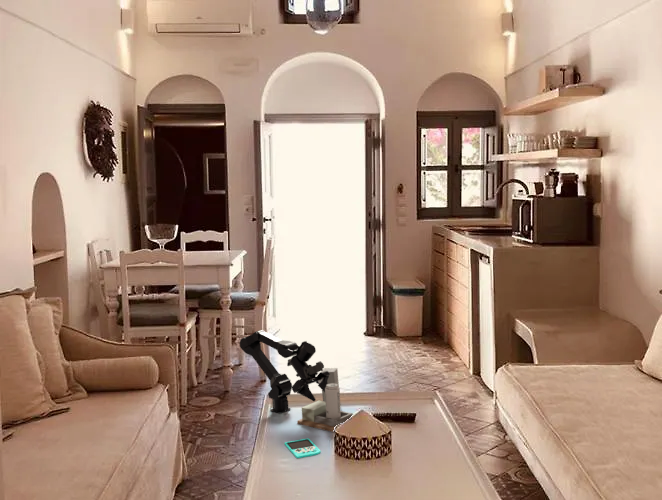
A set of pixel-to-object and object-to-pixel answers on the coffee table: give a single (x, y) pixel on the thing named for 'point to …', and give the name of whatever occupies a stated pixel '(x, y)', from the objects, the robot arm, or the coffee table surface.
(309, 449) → the handheld game console
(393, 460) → the coffee table surface
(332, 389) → the energy drink can
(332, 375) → the skincare box
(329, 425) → the port plate
